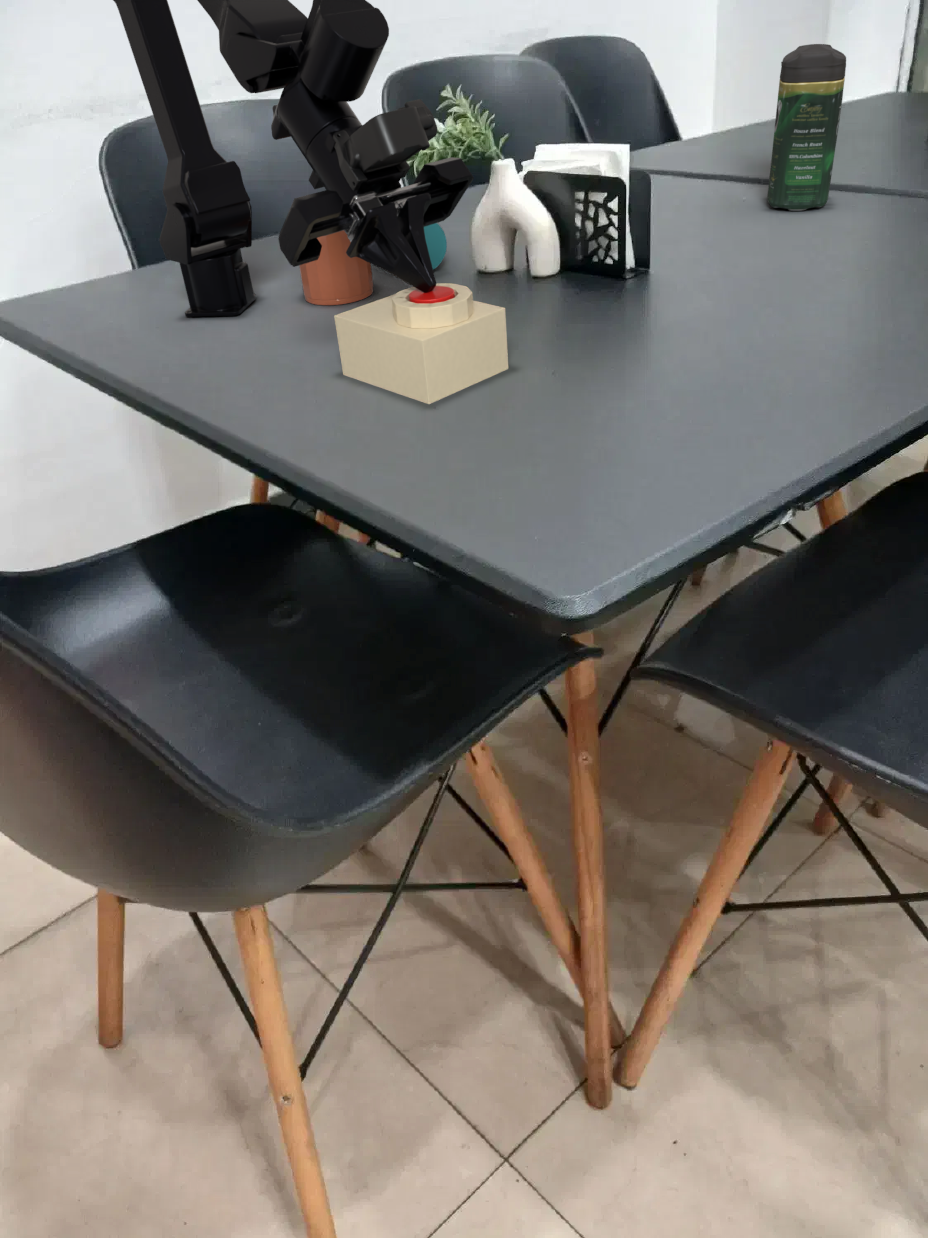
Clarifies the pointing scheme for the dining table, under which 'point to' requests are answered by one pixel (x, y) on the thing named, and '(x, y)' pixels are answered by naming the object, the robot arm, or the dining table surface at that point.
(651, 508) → the dining table surface
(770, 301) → the dining table surface
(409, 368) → the red push button box
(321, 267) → the terracotta cup
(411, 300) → the power button
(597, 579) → the dining table surface
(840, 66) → the coffee jar
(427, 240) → the beverage bottle
